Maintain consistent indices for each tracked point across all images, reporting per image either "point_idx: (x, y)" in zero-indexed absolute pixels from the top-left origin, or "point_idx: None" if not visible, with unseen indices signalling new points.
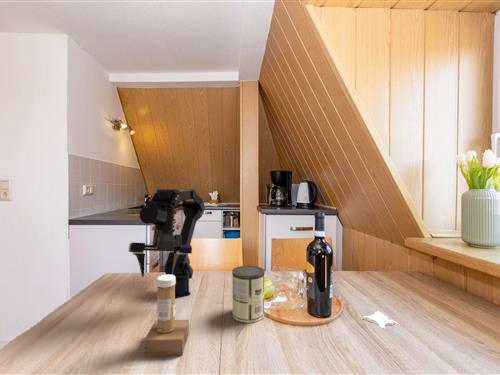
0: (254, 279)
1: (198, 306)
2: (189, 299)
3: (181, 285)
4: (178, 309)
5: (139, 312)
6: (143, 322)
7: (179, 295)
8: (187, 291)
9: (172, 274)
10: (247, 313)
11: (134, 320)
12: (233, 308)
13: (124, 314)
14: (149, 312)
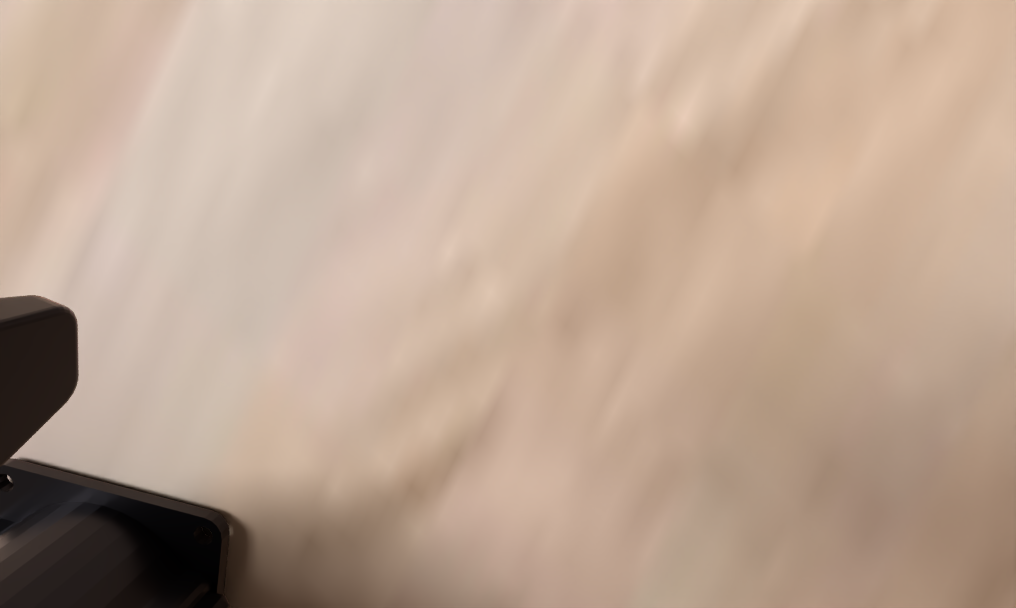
0: None
1: (62, 67)
2: None
3: (14, 582)
4: (313, 188)
5: (755, 495)
6: (853, 188)
7: (137, 514)
8: (5, 526)
9: (41, 365)
10: None
11: (917, 333)
12: None
13: (933, 589)
14: (654, 398)
